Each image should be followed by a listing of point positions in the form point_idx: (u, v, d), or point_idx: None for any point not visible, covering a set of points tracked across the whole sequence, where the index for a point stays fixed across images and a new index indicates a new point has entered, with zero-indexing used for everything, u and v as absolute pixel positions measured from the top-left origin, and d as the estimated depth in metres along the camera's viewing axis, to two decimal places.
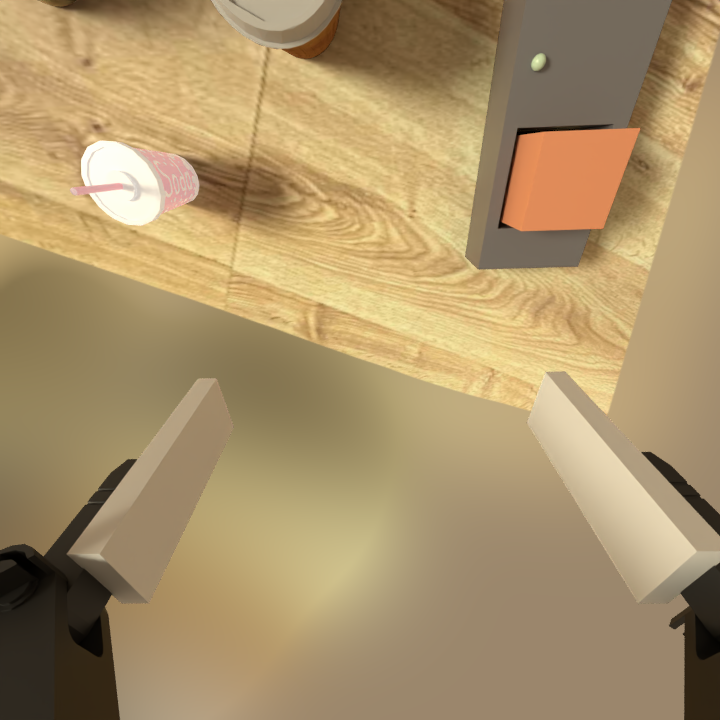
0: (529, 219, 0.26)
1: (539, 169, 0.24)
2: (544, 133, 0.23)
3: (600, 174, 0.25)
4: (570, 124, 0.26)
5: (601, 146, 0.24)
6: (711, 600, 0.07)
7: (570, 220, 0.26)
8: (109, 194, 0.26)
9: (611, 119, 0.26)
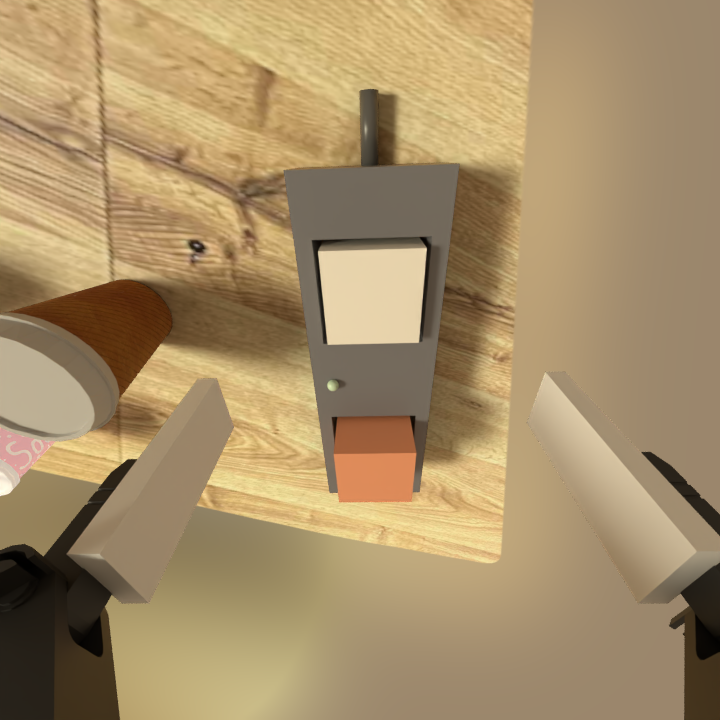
0: (343, 496, 0.30)
1: (338, 472, 0.28)
2: (334, 454, 0.26)
3: (394, 475, 0.28)
4: (377, 415, 0.29)
5: (387, 461, 0.27)
6: (711, 600, 0.07)
7: (380, 497, 0.30)
8: None
9: (412, 413, 0.29)
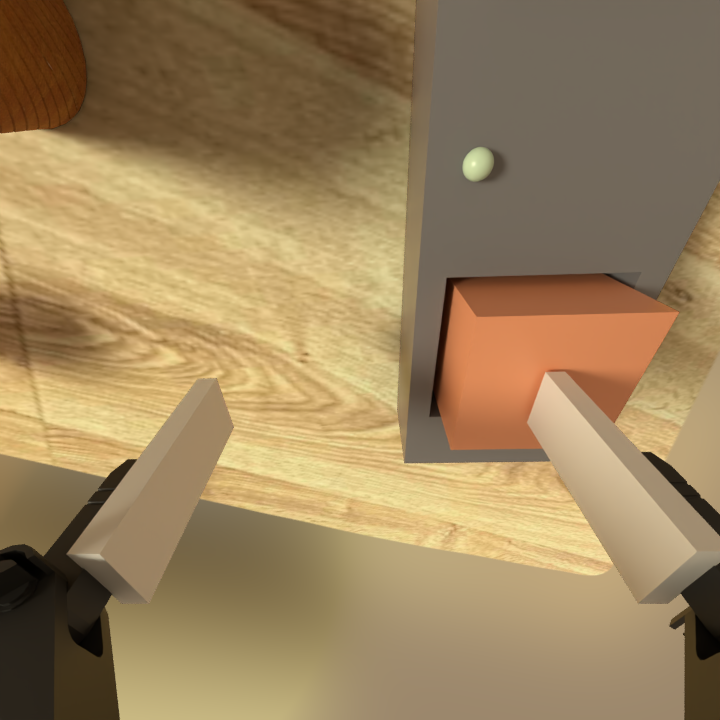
0: (464, 436, 0.14)
1: (472, 371, 0.12)
2: (476, 319, 0.11)
3: (595, 379, 0.12)
4: (553, 272, 0.13)
5: (596, 339, 0.11)
6: (711, 600, 0.07)
7: None
8: None
9: (637, 264, 0.13)
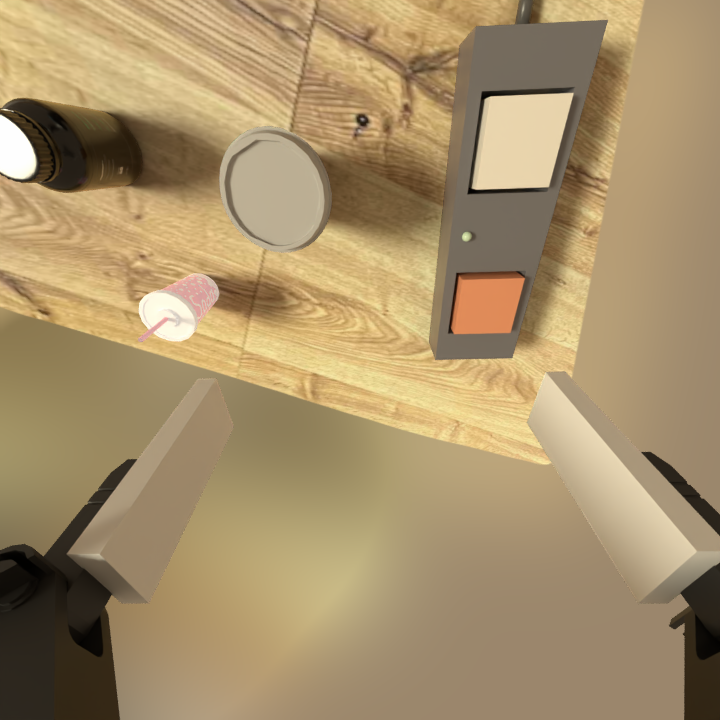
0: (459, 327, 0.38)
1: (461, 299, 0.36)
2: (462, 280, 0.35)
3: (503, 302, 0.37)
4: (494, 270, 0.36)
5: (501, 287, 0.36)
6: (711, 600, 0.07)
7: (487, 328, 0.38)
8: (157, 322, 0.35)
9: (524, 268, 0.35)
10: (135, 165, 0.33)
